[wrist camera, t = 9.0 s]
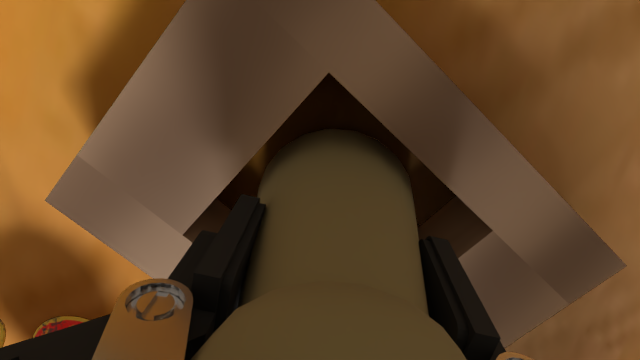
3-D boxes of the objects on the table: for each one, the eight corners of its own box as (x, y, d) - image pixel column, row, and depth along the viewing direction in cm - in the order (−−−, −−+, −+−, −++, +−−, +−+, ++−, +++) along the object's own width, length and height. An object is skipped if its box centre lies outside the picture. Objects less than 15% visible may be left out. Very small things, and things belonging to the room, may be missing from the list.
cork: (344, 93, 13) (366, 294, 3) (445, 213, 15) (695, 630, 4) (225, 196, 15) (-30, 559, 5) (326, 295, 16) (307, 740, 6)
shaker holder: (568, 219, 16) (626, 266, 13) (367, 369, 20) (373, 436, 16) (285, -76, 13) (266, -115, 10) (103, 167, 16) (44, 200, 13)
